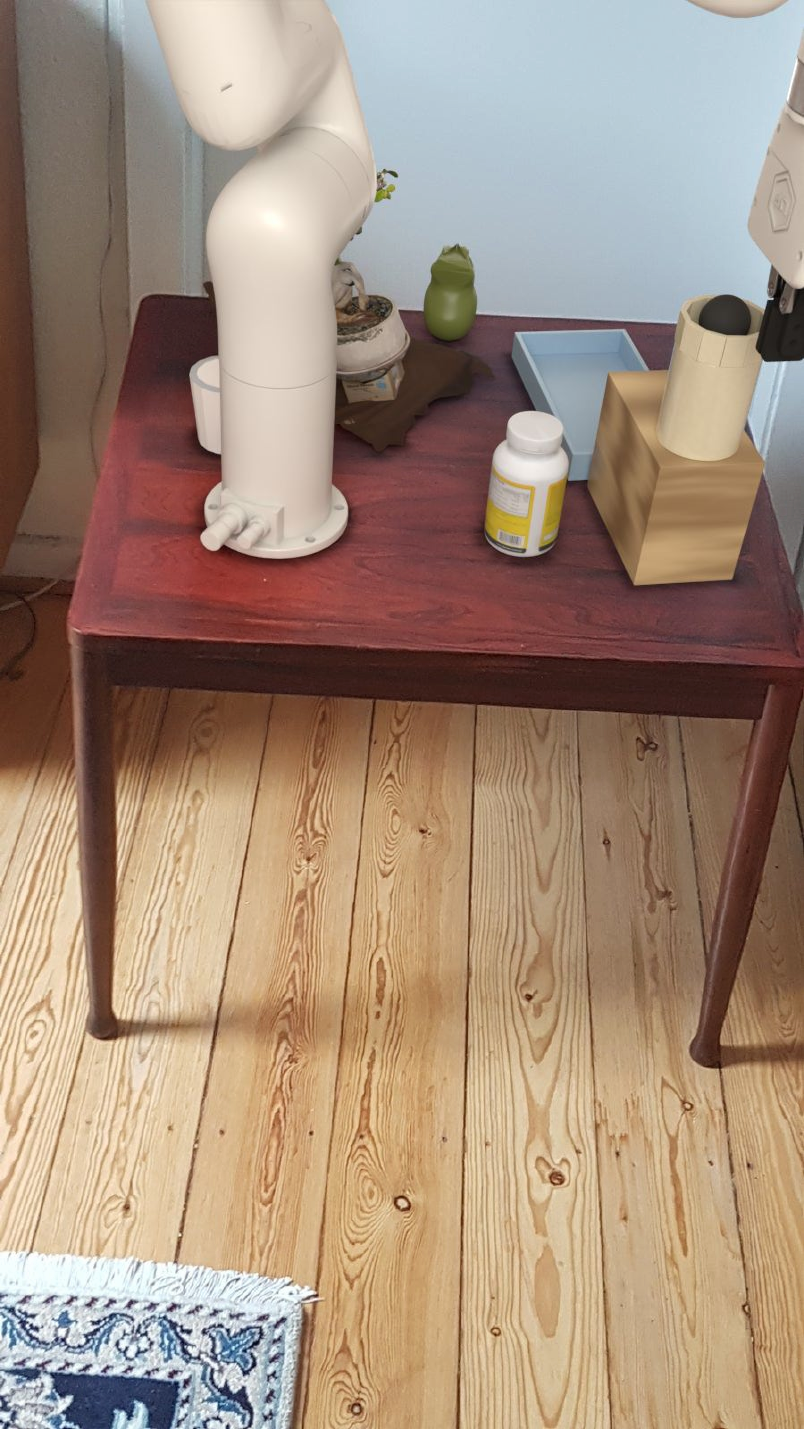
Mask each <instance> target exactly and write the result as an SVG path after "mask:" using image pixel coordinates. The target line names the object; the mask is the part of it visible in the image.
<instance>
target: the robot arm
mask: <svg viewBox="0 0 804 1429" xmlns="http://www.w3.org/2000/svg"><path fill="white" fill-rule="evenodd" d="M685 1H686V2H688V3H690V4H692V5H694V6H695V7H697V8H699V9H702V10H704V11H707V12H709V13H712V14H714V15H718V16H722V17H726V18H730V19H731V18H732V19H751V18H756V17H761V16H764V15H766V14H769V13H772V12H773V11H775V10H777V9H778V8H780V7H781V6H783V5H785V4H786V3H787V2H789V0H685ZM145 3H146V7H147V10H148V13H149V16H150V19H151V22H152V25H153V28H154V30H155V31H154V32H155V35H156V37H157V40H158V43H159V47H160V49H161V53H162V55H163V58H164V62H165V64H166V69H167V72H168V74H169V78H170V80H171V83H172V87H173V89H174V92H175V95H176V99H177V101H178V104H179V107H180V109H181V111H182V113H183V115H184V117H185V119H186V121H187V122H188V124H189V126H190V127H191V129H192V130H193V132H195V134H196V135H197V136H198V137H199V138H200V139H201V140H203V141H204V142H205V143H207V144H208V145H210V146H211V147H214V148H216V149H219V150H223V151H228V152H238V151H243V150H247V149H251V148H254V147H256V148H257V152H258V153H256V154H254V156H253V157H252V158H250V160H249V161H247V163H245V164H244V165H243V166H242V167H241V169H239V170H238V171H237V172H236V173H235V174H234V175H232V177H231V178H230V179H229V181H228V182H227V183H226V184H225V186H223V188H222V190H221V191H220V192H219V194H218V196H217V197H216V199H215V201H214V203H213V205H212V208H211V211H210V214H209V216H208V220H207V223H206V224H207V225H206V231H205V248H206V256H207V263H208V267H209V272H210V277H211V282H213V287H214V293H215V301H216V310H217V318H216V322H217V323H216V324H217V351H218V352H217V353H218V355H217V356H218V357H219V376H220V423H221V454H220V460H221V461H220V463H221V464H220V465H221V469H220V470H221V481H220V482H218V483H217V484H216V485H215V486H214V487H212V489H211V490H210V491H209V493H208V494H207V496H206V498H205V501H204V506H203V507H204V508H203V510H204V511H203V512H204V514H203V516H204V522H205V526H206V528H205V529H204V530H203V531H202V533H201V534H200V535H199V536H200V542H201V544H202V546H203V547H205V549H206V550H209V551H211V552H217V551H218V550H220V548H222V547H223V546H226V547H227V548H230V549H231V550H234V551H236V552H238V553H241V554H244V555H247V556H251V557H257V558H261V559H275V560H283V559H284V560H285V559H295V558H301V557H306V556H309V555H312V554H315V553H318V552H320V551H322V550H325V549H326V548H328V547H330V546H331V545H333V544H334V543H335V542H336V541H338V540H339V538H340V537H341V536H343V534H344V532H345V530H346V528H347V526H348V520H349V506H348V502H347V500H346V497H345V496H344V494H343V493H342V492H341V490H339V488H338V487H336V485H334V484H333V465H334V464H333V463H334V443H335V442H334V441H335V424H334V419H335V394H336V370H337V319H336V311H335V305H334V300H333V294H332V283H331V281H332V272H333V268H334V264H335V262H336V260H337V258H338V257H339V255H340V256H341V254H342V253H343V252H344V250H345V249H346V247H347V246H348V244H349V243H350V242H351V241H350V240H351V239H352V238H353V239H354V237H355V236H356V233H357V232H358V230H359V229H360V228H361V226H362V227H363V225H364V224H365V222H366V220H367V219H368V217H369V216H370V213H371V212H372V210H373V208H374V204H375V202H374V201H375V197H376V192H377V191H376V190H377V167H376V162H375V161H376V160H375V156H374V151H373V147H372V143H371V139H370V136H369V135H370V134H369V131H368V128H367V124H366V120H365V116H364V112H363V108H362V104H361V100H360V96H359V92H358V89H357V84H356V82H355V81H356V80H355V77H354V74H353V73H354V72H353V69H352V66H351V62H350V57H349V54H348V50H347V47H346V43H345V40H344V37H343V34H342V31H341V28H340V26H339V24H338V20H337V19H336V17H335V16H334V14H333V12H332V10H331V8H330V6H329V5H328V4H327V2H326V1H325V0H145ZM790 79H791V80H790V84H789V87H788V92H787V96H786V100H785V103H784V104H783V107H782V109H781V111H780V113H779V116H778V119H777V121H776V124H775V127H774V129H773V132H772V135H771V138H770V141H769V143H768V147H767V150H766V154H765V157H764V160H763V163H762V166H761V170H760V174H759V176H758V181H757V183H756V187H755V191H754V195H753V199H752V202H751V206H750V210H749V214H748V219H747V230H748V233H749V236H750V237H751V240H752V241H753V242H754V244H755V245H756V246H757V247H758V249H759V251H761V253H762V254H763V255H764V257H765V258H766V259H767V261H768V262H769V263H770V270H769V274H768V275H769V276H768V281H767V285H766V286H767V287H766V293H767V296H768V298H769V299H767V300H766V304H765V308H764V310H765V311H764V315H763V319H762V323H761V327H760V331H759V335H758V339H757V343H756V347H755V348H756V350H757V352H758V353H759V354H761V357H762V359H763V362H765V363H776V362H777V363H781V362H801V361H803V360H804V28H803V30H802V33H801V37H800V42H799V46H798V50H797V56H796V59H795V63H794V68H793V72H792V76H791V78H790Z"/></svg>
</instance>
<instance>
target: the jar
mask: <svg viewBox="0 0 804 1429" xmlns="http://www.w3.org/2000/svg"><path fill="white" fill-rule="evenodd" d="M719 295H720V294H701V295H699V296H695V297H692V298H688V299H686V301H685V303H683V305H682V306H681V308H680V309H679V313H678V320H677V324H676V328H675V331H674V332H675V333H674V338H673V339H674V343H673V348H672V352H671V357H670V361H669V367H668V369H667V370H668V375H667V379H666V384H665V389H664V393H663V398H662V402H661V407H660V411H659V416H658V421H657V425H656V430H655V434H656V438H657V440H658V441H659V442H660V444H661V445H662V446H663V447H665V448H666V449H667V450H669V451H670V452H672V453H674V454H676V455H679V456H681V457H684V458H688V459H692V460H697V461H719V460H723V459H726V458H729V457H731V456H732V455H734V454H735V453H736V452H737V451H738V449H739V447H740V443H741V440H742V436H743V432H744V430H745V428H746V425H747V422H748V417H749V414H750V411H751V410H750V409H751V406H752V403H753V398H754V395H755V391H756V387H757V384H758V379H759V376H760V373H761V368H762V365H763V362H764V360H763V359H762V357H761V354H759V353H758V352H757V350H756V348H755V347H756V343H757V339H758V335H759V331H760V327H761V323H762V319H763V315H764V311H765V308H762V307H761V306H759V305H757V304H756V303H754V302H752V301H750V300H747V299H744V298H741V299H742V300H743V301H744V302H745V303H746V305H747V306H748V308H749V310H750V313H751V326H750V329H749V332H748V334H747V335H746V336H742V335H724V334H720V333H717V332H713V331H709V330H706V329H704V328H703V327H701V326H699V316H700V313H701V310H702V309H703V307H704V306H705V304H706V303H707V302H708V301H709V300H711V299H712V298H714V297H716V296H719Z"/></svg>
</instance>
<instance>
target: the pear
mask: <svg viewBox="0 0 804 1429" xmlns="http://www.w3.org/2000/svg"><path fill="white" fill-rule="evenodd" d="M475 272H476V271H475V266H474V263H473V260H472V258H471V257H470V250H469V249H468V248H467V247H466V245H465V246H463V245H461V246H460V244H459V243H458V242H457V243H456V244H455V245H453V246H451V245H443V247H442V250H441V252H440V254H439V256H438V258H437V259H436V260H435V261H434V262H433V263H432V264H431V266H430V275H431V276H430V282H429V284H428V286H427V288H426V291H425V293H424V298H423V308H422V312H423V320H424V321H423V322H424V325H425V327H426V329H427V331H428V332H429V333H430V334H431V335H432V336H433V337H435V338H436V339H438V340H442V341H446V342H453V341H457V340H459V339H462V338H463V337H465V336H466V335H467V334H468V333H469V332H470V330H471V329H472V327H473V325H474V323H475V320H476V315H477V309H478V295H477V294H478V293H477V291H476V287H475V277H476V273H475Z"/></svg>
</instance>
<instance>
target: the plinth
mask: <svg viewBox="0 0 804 1429" xmlns="http://www.w3.org/2000/svg"><path fill="white" fill-rule="evenodd" d="M668 370H669V369H660V370H659V369H656V370H649V371H623V372H608V376H607V381H606V387H605V392H604V397H603V403H602V408H601V413H600V419H599V424H598V429H597V435H596V440H595V446H594V451H593V456H592V462H591V467H590V472H589V478H588V480H587V483H586V487H587V489H588V492H589V494H590V496H591V498H592V500H593V503H594V505H595V507H596V509H597V510H598V514H599V515H600V518H601V519H602V521H603V523H604V525H605V528H606V530H607V532H608V534H609V536H610V538H611V540H612V543H613V545H614V546H615V549H616V550H617V553H618V556H619V557H620V559H621V562H622V564H623V566H624V568H625V570H626V572H627V575H628V576H629V578H630V580H631V582H632V585H633V586H647V585H648V586H649V585H664V584H679V583H681V584H682V583H695V582H696V583H698V582H715V581H716V582H717V581H729V580H730V581H731V580H733V578H734V575H735V572H736V568H737V564H738V560H739V557H740V554H741V550H742V547H743V543H744V540H745V535H746V532H747V528H748V526H749V521H750V518H751V514H752V512H753V507H754V504H755V501H756V497H757V494H758V490H759V487H760V482H761V480H762V476H763V473H764V469H765V466H766V462H765V460H764V459H763V457H762V455H761V453H760V452H759V451H758V449H757V448H756V446H755V444H754V443H753V441H752V440H751V438H750V437H749V435H748V434H747V432H746V430H745V429H744V432H743V436H742V440H741V443H740V447H739V449H738V451H737V452H736V453H735V454H734V455H732V456H731V457H729V458H726V459H723V460H719V461H697V460H692V459H688V458H684V457H681V456H679V455H676V454H674V453H672V452H670V451H669V450H667V449H666V448H665V447H663V446H662V445H661V444H660V442H659V441H658V440H657V438H656V434H655V430H656V425H657V421H658V416H659V411H660V407H661V402H662V398H663V393H664V389H665V384H666V379H667V375H668Z"/></svg>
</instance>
